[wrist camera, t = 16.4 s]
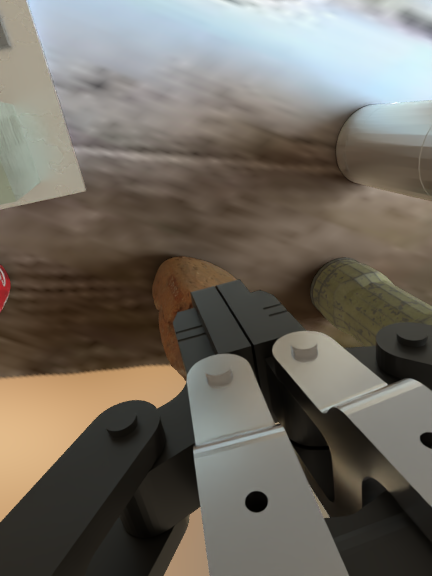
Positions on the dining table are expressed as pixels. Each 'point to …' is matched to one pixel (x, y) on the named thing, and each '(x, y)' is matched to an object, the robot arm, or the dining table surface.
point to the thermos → (363, 300)
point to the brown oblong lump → (181, 296)
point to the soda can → (4, 287)
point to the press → (31, 117)
